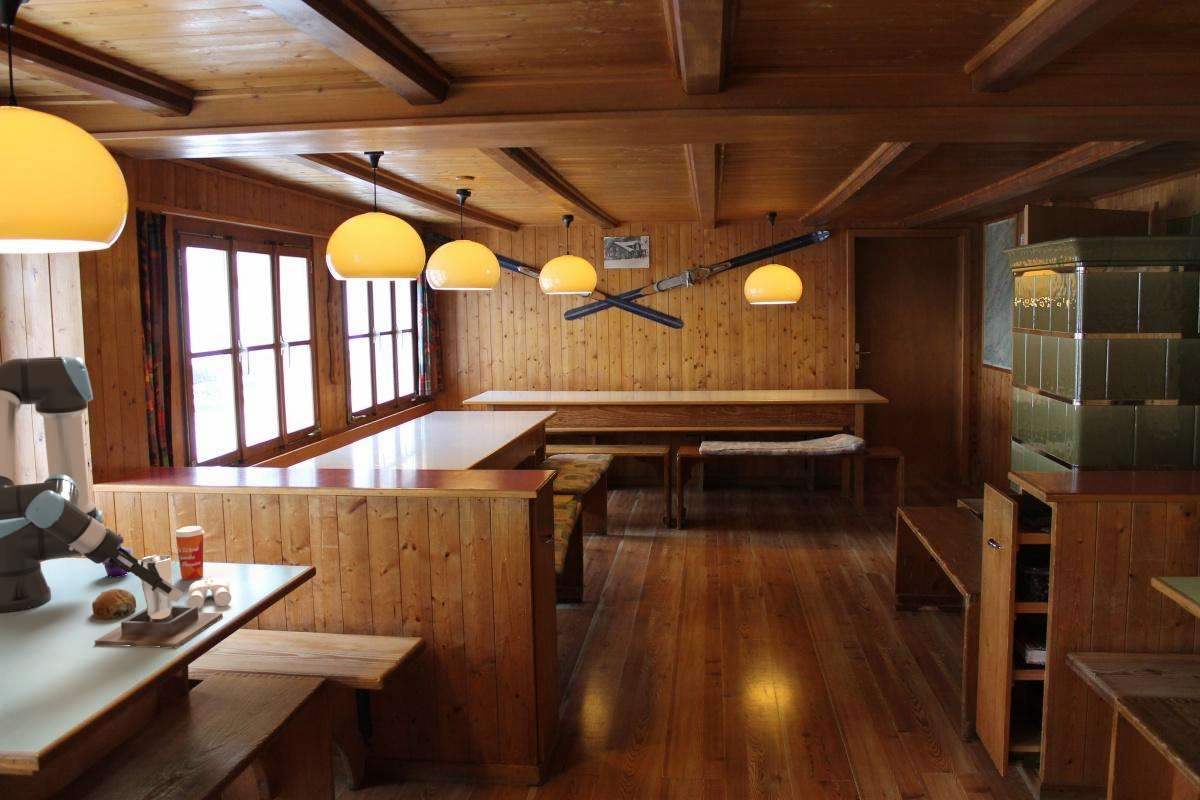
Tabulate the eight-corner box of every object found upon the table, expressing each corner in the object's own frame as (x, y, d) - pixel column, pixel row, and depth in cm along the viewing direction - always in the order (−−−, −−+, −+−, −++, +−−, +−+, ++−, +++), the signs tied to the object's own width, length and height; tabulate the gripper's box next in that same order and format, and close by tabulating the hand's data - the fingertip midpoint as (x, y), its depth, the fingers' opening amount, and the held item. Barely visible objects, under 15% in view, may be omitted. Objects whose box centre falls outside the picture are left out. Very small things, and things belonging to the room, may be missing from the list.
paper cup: (172, 581, 259) (169, 532, 257) (185, 572, 267) (182, 525, 265) (199, 581, 259) (196, 532, 257) (212, 572, 266) (209, 525, 265)
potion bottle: (138, 574, 265) (135, 533, 264) (106, 581, 260) (102, 539, 258) (129, 568, 272) (126, 528, 270) (96, 574, 266) (93, 534, 264)
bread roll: (138, 620, 239) (137, 589, 241) (134, 615, 230) (133, 583, 232) (95, 625, 235) (94, 594, 238) (89, 621, 226) (88, 588, 229)
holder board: (95, 644, 213) (93, 628, 212) (148, 614, 232) (146, 599, 232) (176, 648, 210) (174, 631, 210) (222, 617, 230) (221, 601, 229)
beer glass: (167, 624, 217) (163, 562, 216) (138, 624, 217) (133, 562, 216) (181, 614, 224) (177, 554, 222) (153, 614, 224) (149, 554, 223)
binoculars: (187, 612, 234) (186, 594, 234) (188, 593, 249) (187, 576, 249) (231, 606, 239) (230, 588, 238) (230, 588, 253) (229, 571, 253)
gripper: (71, 546, 215) (150, 597, 228) (95, 564, 201) (177, 617, 214) (94, 520, 218) (171, 572, 231) (119, 535, 204) (199, 590, 217)
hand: (174, 593), depth 223 cm, fingers closed on beer glass, 7 cm apart
